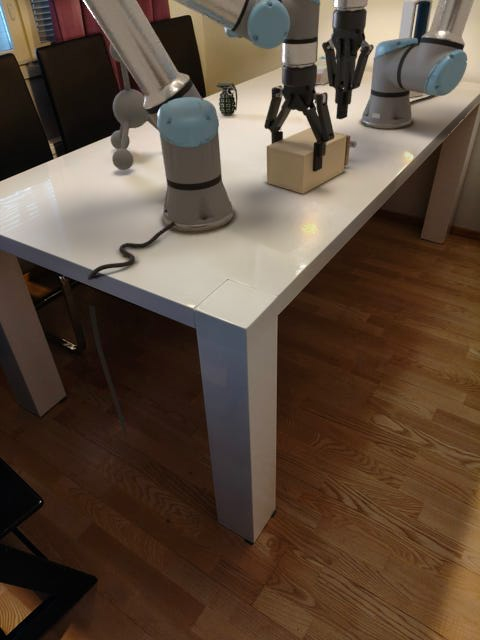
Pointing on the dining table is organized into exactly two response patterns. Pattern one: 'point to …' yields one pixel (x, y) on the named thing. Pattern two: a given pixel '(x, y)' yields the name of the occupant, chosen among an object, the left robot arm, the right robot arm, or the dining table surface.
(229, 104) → the grenade
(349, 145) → the drawer
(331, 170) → the tan cardboard box
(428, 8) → the electronic device
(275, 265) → the dining table surface
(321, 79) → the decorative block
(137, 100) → the molecular model
